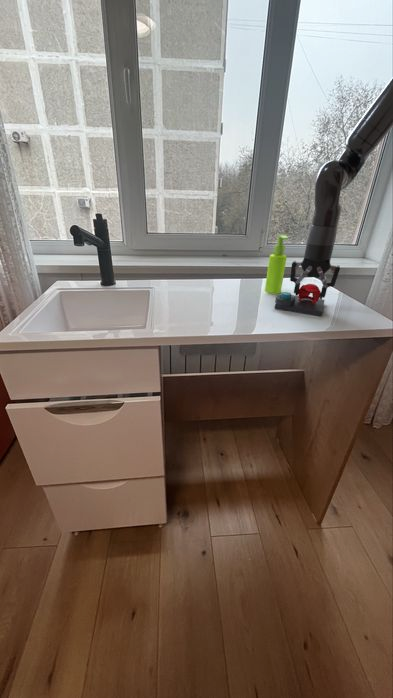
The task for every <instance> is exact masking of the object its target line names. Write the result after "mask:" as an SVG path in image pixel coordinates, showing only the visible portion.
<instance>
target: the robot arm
mask: <svg viewBox="0 0 393 698" xmlns="http://www.w3.org/2000/svg"><path fill="white" fill-rule="evenodd" d="M392 128H393V77H392V78H391V79H390V80H389V82H388V83H387V84H386V86H385V87H384V88H383V90H382V91H381V92H380V93H379V94H378V96H377V97H376V98H375V100H374V101H373V102H372V104H371V105H370V106H369V107H368V109H367V110H366V111H365V112H364V114H363V115H362V117H361V118H360V120H359V121H358V122H357V123H356V125H355V126H354V127H353V129H352V131H351V132H350V134H349V135H348V136H347V138H346V140H345V148H344V150H343V151H342V152H341V154H340V156H339V157H338V159H333V160H328V161H326V162H325V163H324V164H323V165H322V166H321V167H320V169H319V171H318V173H317V175H316V179H315V185H314V211H313V215H312V220H311V225H310V228H309V232H308V236H307V240H306V245H305V250H304V255H303V259H302V261H297V260H294V261H292V263H291V267H290V278H289V281H290V282H292V283H294V288H293V294H295V296H298V292H299V289H300V288H301V282H302V281H303V280H304V279H305V278H306V277H308V278H315V279H320V281H321V283H322V287H321V290H320V292H321V295H320V298H319V299H322V300H323V299H324V298H325V297H326V295H327V290H328V288H330V287H332V288H333V287H335V284H336V282H337V279H338V276H339V274H340V270H341V266H340V265H338V264H337V265H333V264H331V259H332V256H333V251H334V247H335V243H336V241H337V240H336V239H337V234H338V226H339V222H340V218H341V213H342V205H341V202H340V199H341V193H342V191H343V190H345V189H346V188H348V186H350V185H351V183H353V181H354V180H355V179H356V177H357V176H358V174H359V173H360V171H361V169H362V168H363V167H364V165H365V163H366V161H367V160H368V158H369V157H370V155H371V154H372V153H373V152H374V151H375V150H376V148H377V147H378V146H379V144H380V143H381V142H382V141H383V140H384V138H386V136H387V135H388V134H389V132H391V130H392ZM300 267H301V268H302V270H303V271H302V273H301V274H300V275H299V276H298V277H296V275H297V274H296V273H297V270H298V269H299V268H300ZM329 270H331V273H332V277H331V280H330V281H328V279H327V276H326V273H327V272H328V271H329Z"/></svg>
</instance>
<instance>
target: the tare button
mask: <svg viewBox="0 0 393 698" xmlns="http://www.w3.org/2000/svg"><path fill="white" fill-rule="evenodd" d="M280 295H281V298H282V299H286V300H289V299H291V295H292V293H291V292H288V291H281V293H280Z"/></svg>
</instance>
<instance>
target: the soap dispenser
mask: <svg viewBox="0 0 393 698" xmlns="http://www.w3.org/2000/svg"><path fill="white" fill-rule="evenodd" d="M276 237H278V239H277V243H276V244H274V248H273V253H272V254H269V258H268V264H267V271H266V279H265V286H264V292H265V293H267V294H273V295H280V294H282V287H283V281H284V275H285V269H286V264H287V257H288V255H286V254H284V253H285V248H286V246H285V244H283V243H284V240H288V239H289V237H288V236H287V235H286V234H277V235H276Z"/></svg>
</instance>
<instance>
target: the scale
mask: <svg viewBox="0 0 393 698" xmlns="http://www.w3.org/2000/svg"><path fill="white" fill-rule="evenodd" d="M325 300H326V299H323V298H322V299H320V298H319V299H318V301H317V302H316V303H314V304H312V301H313V300H311V299H301V300H300V301H299V297H298V296H296V294H295V295H294V294H291V299H289V300H286V299H282V298H281V294H276V296H275V301H274V304H275V305H274V310H278V311H284V312H289V313H297V314H303V315H308V316H315V317H320V318H321V317H322V316H323V312H324V306H325Z"/></svg>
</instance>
